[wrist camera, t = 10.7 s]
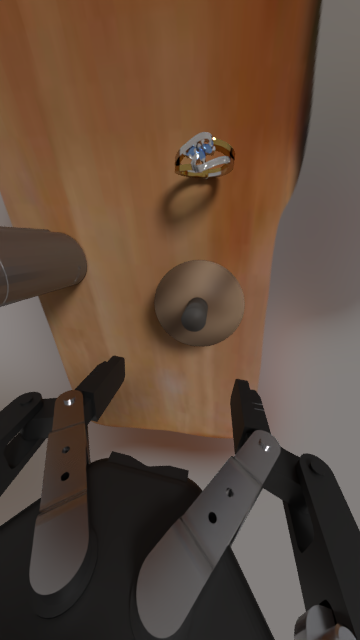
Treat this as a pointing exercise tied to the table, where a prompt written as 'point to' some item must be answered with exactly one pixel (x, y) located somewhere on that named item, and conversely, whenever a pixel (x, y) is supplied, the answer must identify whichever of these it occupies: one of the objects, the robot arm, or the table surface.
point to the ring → (204, 157)
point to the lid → (199, 303)
